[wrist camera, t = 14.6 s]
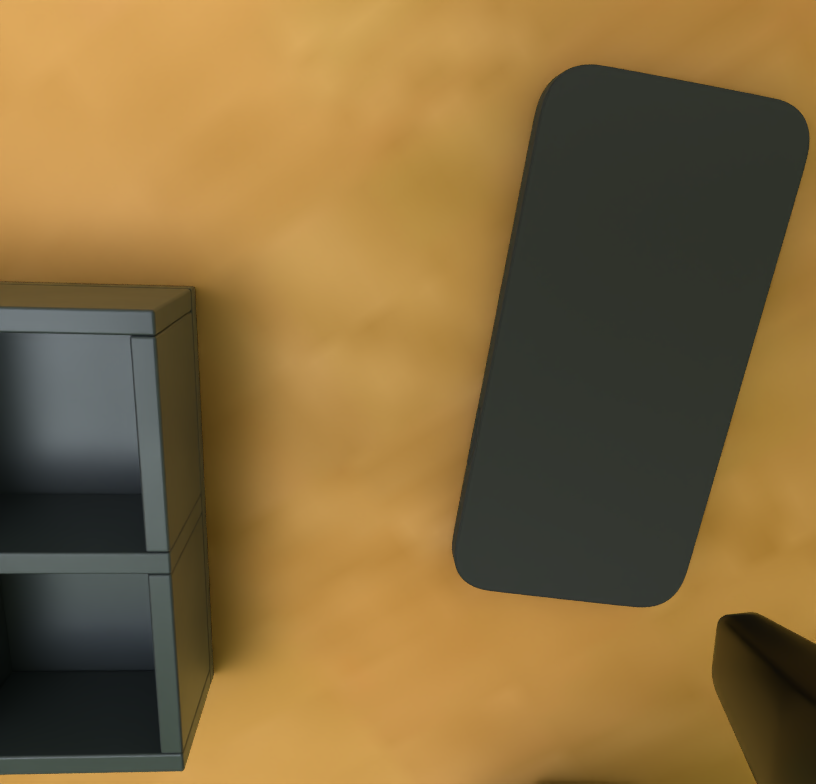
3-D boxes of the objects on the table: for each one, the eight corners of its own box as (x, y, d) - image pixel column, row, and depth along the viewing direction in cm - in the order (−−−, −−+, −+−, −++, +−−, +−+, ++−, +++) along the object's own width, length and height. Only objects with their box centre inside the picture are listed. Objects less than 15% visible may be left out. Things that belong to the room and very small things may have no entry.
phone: (825, 107, 18) (677, 613, 22) (806, 111, 19) (667, 598, 23) (549, 54, 18) (445, 586, 21) (541, 60, 18) (442, 572, 22)
